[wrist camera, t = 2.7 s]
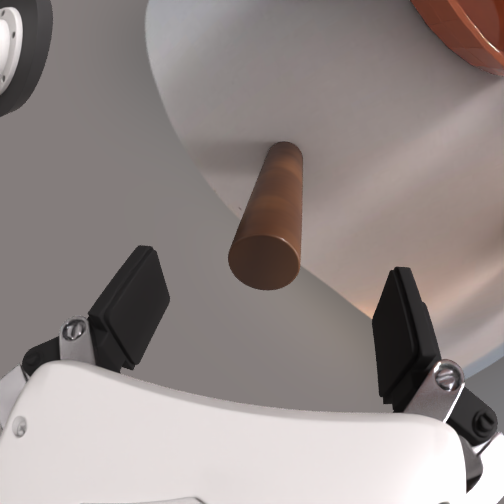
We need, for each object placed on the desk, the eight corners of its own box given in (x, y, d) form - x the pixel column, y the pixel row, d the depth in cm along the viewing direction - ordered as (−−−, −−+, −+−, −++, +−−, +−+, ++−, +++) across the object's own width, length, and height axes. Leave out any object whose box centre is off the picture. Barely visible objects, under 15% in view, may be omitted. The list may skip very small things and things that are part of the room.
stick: (267, 174, 24) (230, 287, 13) (266, 140, 22) (224, 231, 11) (302, 175, 23) (297, 293, 12) (303, 142, 21) (303, 236, 10)
